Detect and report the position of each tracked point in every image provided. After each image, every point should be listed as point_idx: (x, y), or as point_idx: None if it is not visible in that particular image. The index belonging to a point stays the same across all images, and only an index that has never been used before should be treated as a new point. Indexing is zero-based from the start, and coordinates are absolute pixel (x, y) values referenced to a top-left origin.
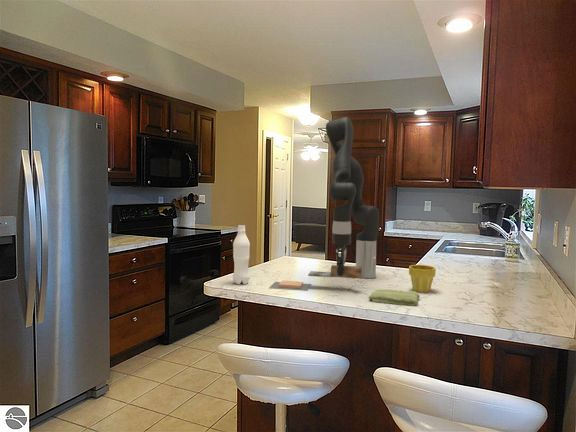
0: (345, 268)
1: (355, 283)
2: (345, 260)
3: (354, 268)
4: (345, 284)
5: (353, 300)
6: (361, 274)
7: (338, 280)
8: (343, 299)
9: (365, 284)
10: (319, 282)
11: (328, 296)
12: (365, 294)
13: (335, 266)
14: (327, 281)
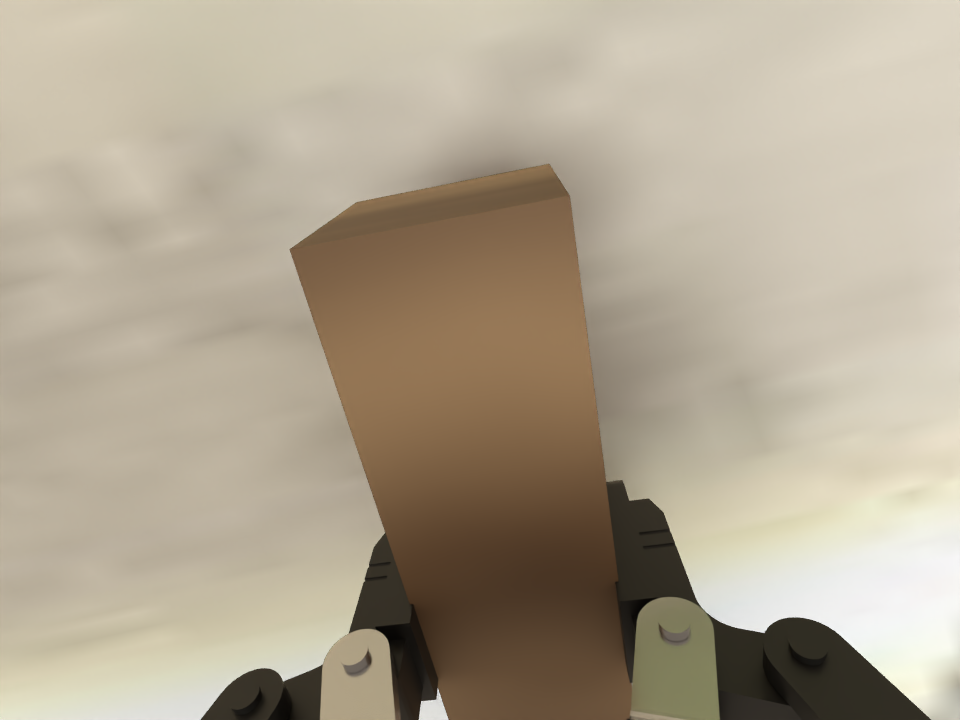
0: (610, 534)
1: (84, 329)
2: (246, 693)
3: (590, 367)
4: (211, 415)
5: (947, 135)
6: (382, 203)
7: (93, 516)
8: (917, 265)
9: (39, 201)
10: (295, 631)
11: (816, 438)
12: (574, 58)
13: (563, 703)
14: (210, 587)
